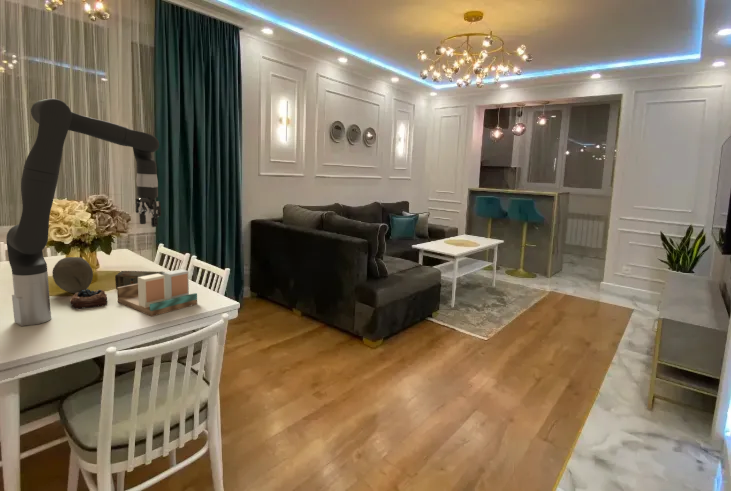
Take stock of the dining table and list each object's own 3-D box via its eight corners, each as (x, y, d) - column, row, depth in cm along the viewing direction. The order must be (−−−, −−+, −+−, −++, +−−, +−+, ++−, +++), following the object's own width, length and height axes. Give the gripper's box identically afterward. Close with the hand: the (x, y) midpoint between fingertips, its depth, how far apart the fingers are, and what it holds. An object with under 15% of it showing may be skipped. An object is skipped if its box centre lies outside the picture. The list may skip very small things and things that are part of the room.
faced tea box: (171, 301, 163) (170, 274, 161) (164, 299, 165) (163, 272, 163) (189, 297, 169) (188, 271, 167) (182, 294, 172) (181, 269, 170)
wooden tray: (151, 316, 152) (151, 300, 151) (117, 301, 164) (117, 287, 163) (197, 304, 168) (197, 289, 167) (163, 291, 180) (162, 278, 179)
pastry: (108, 306, 160) (107, 291, 159) (70, 310, 153) (69, 295, 152) (106, 298, 169) (105, 284, 167) (70, 302, 162) (69, 287, 161)
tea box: (145, 307, 154) (144, 279, 152) (138, 305, 157) (137, 277, 155) (165, 302, 161) (165, 275, 159) (158, 300, 163) (158, 273, 161)
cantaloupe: (100, 287, 180) (98, 254, 178) (83, 297, 167) (81, 261, 164) (65, 287, 178) (62, 253, 176) (45, 297, 165) (42, 260, 162)
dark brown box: (161, 288, 185) (161, 274, 183) (114, 288, 181) (113, 274, 180) (166, 283, 192) (166, 270, 191) (121, 283, 188) (120, 269, 187)
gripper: (128, 184, 166) (129, 223, 169) (148, 186, 158) (149, 228, 161) (146, 184, 172) (147, 222, 175) (166, 186, 165) (167, 226, 168)
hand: (148, 225), depth 168 cm, fingers open, 8 cm apart
